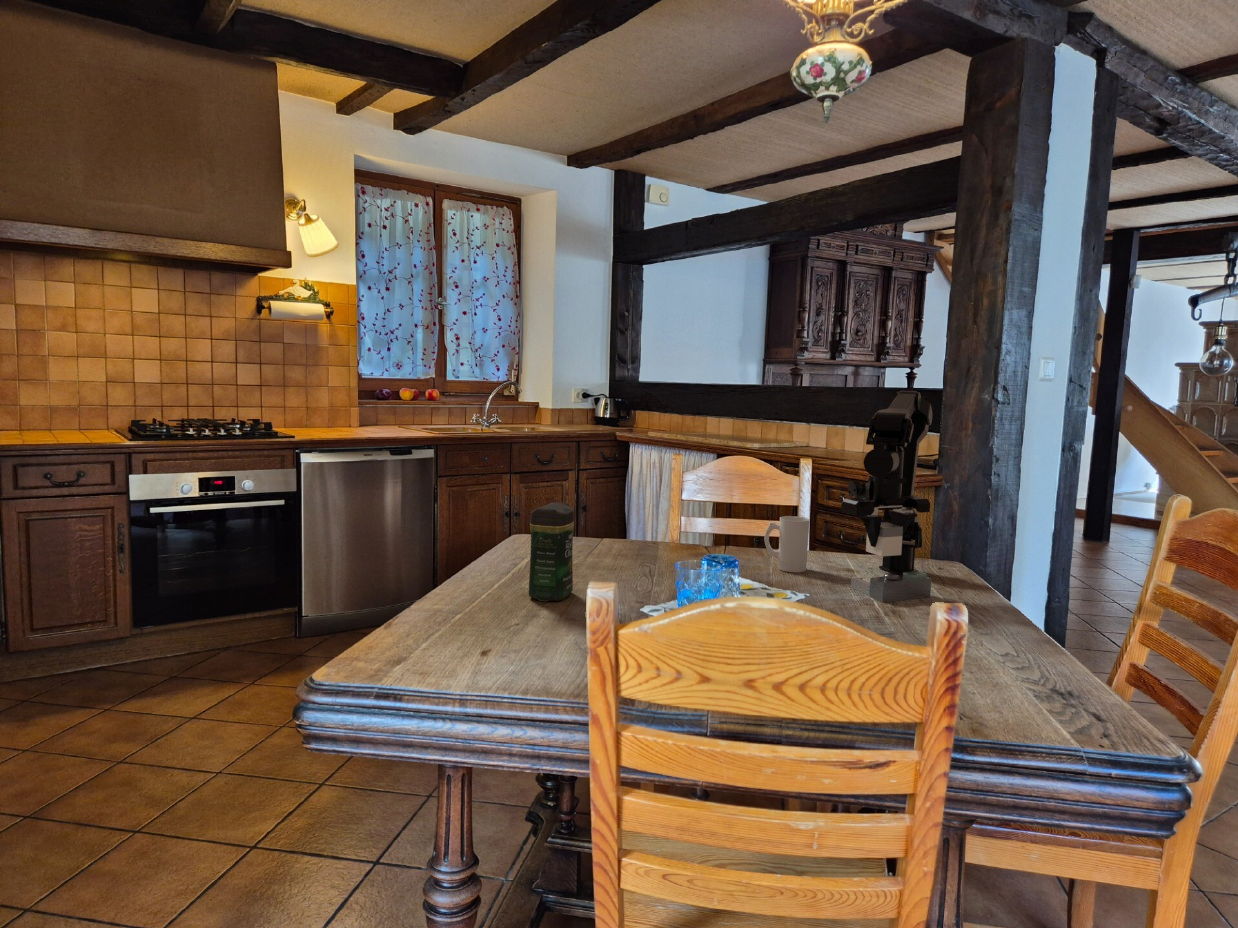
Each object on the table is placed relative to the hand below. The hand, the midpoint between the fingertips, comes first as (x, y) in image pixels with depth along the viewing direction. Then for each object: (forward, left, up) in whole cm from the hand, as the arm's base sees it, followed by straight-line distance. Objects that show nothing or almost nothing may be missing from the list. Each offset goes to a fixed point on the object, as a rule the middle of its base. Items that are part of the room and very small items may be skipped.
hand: (883, 545), depth 161 cm
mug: (+10, -21, -10) cm, 25 cm away
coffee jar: (+68, -15, -10) cm, 70 cm away
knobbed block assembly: (0, +3, -9) cm, 10 cm away
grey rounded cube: (0, 0, -2) cm, 2 cm away
